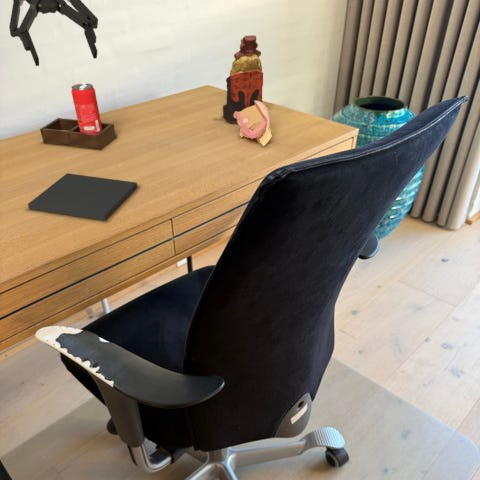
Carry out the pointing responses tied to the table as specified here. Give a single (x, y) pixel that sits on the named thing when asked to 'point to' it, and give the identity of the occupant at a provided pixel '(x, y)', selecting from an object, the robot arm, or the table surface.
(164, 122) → the table surface
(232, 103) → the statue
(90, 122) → the beverage can
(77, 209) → the mat
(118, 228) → the table surface
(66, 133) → the divided desk organizer tray
